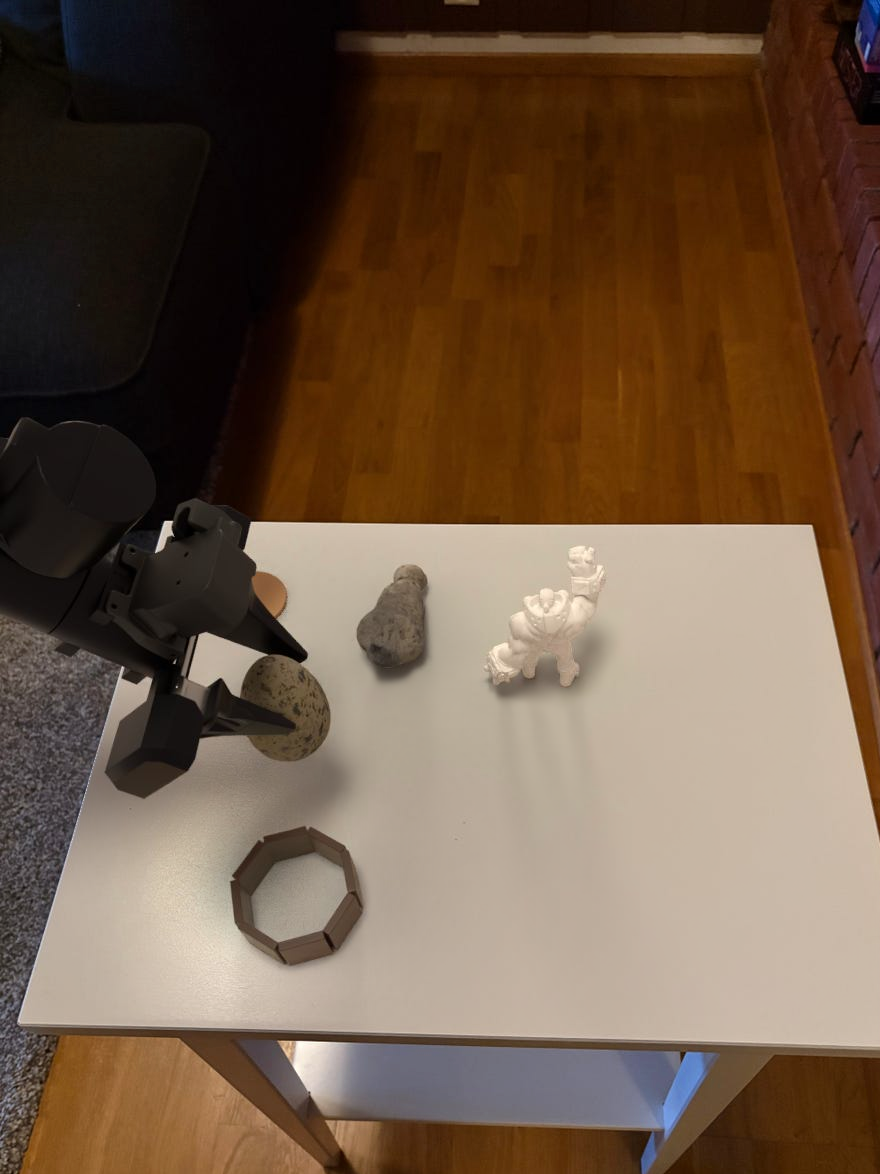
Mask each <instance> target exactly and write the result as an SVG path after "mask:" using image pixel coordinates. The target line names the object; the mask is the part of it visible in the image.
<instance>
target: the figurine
mask: <svg viewBox="0 0 880 1174" xmlns="http://www.w3.org/2000/svg"><path fill="white" fill-rule="evenodd" d="M596 552H597V550H596V548H594V547H592V546H590V547H589V548H588V549H587V548H586V546H585V545H577V546H574V547H570V549H569V550H568V552H567V558H568V561H567V562H566V568H567V569H568V570H569V572H570V573H571V574H572V575H571V577H570V578H571V580H570V581H571V582H570V583H571V585H570V586H571V589H572V595H573V599H572V601H571V600H569V599H570V593H569V592H568V591H567V590H565V589H560V590H558V591H553V589H551V588H549V587H545V588H542V589H541V590H540V591H539V593H537V594H535V595H533V596H532V595H526V596H525V597H524V598H523V599H522V601H521V604H522V606H523V611H519V612H516V613H514V614H512V615H511V616H510V618H509V620H508V626H509V629H510V632H509V634H508V637H507V642H502V643H501V644H500V643H499V644H498V645H495V646H493V647H492V648H491V650H489V651H488V652H487V653H486V658H485V661H486V662H485V663H486V664H485V665H484V666H483V671H485V672H487V673H489V675H490V676H491V677H492V684H493V685H495V686H499V685H500V683H501V682H505V683H507V684H508V683H510V682H511V680H510V679H511V678H513V677H517V675H518V674H519V673H520V671H521V672H522V675H523V677H524V678H526V679H533V678H534V677H535V675H536V667H537V665H538V664H539V663H538V662H539V656H540V654H541V653H542V652H544V653H547V654H548V653H552V654H554V655H555V658H556V664H557V672H558V673H559V674H560V675H559V684H560V685H561V687H565V688H566V687H569V686H571V685H572V683H573V681H574V679H575V677H576V678H578V677H579V675H580V665H579V663H577V661H576V662H575V661H574V653H573V650H572V644H571V642H570V639H572V638H573V637H576V636H577V635H581V633H583V632H584V631H585V630H586V626H587V623H588V622H589V621H591V620H592V619H593V618H594V617H595V614H596V611H597V606H598V601H599V597H600V592H601V591H602V590H603V589H604V586H605V584H606V580H607V573H606V570H605V569H604V565H602V564H597V563H598V562H597V560H596V556H595V554H596Z"/></svg>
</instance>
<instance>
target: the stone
mask: <svg viewBox="0 0 880 1174" xmlns="http://www.w3.org/2000/svg"><path fill="white" fill-rule="evenodd" d="M392 578H393V581H392V582H391V583H390V584H388V585H387V586H386V587H384V589H383V590H382V592H381V594H380V595H379V597H378V598H377V601H376V604H375V606H374V608H373V609H371V610H370V611H369V612H367V613H366V615H364V616H363V617H362V618H361V619H360V620H359V622H358V624H357V628H356V640H357V643H358V645H359V647H360V648H361V649H362V650H363V651H364V652H365V653H366V655H367V656H368V657H369V659H370V661H371V662H372V664H374V665H375V666H376V667H379V668H384V669H386V668H387V669H388V668H390V669H391V668H394V667H398V666H400V665H402V664H403V665H404V664H407V663H411V662H412V661H414V660H416V659H417V658H418V657H419V655H420V654H422V651H423V647H424V644H425V643H424V642H425V640H424V639H425V632H424V626H423V623H424V617H425V604H424V603H425V602H424V596H423V593H422V592H423V591H424V590H425V589H426V588H427V585H428V577H427V574H426V573H425V572H424V570H423V569H422V568H421V567H420V566H418V565H417V564H413V563H409V564H407V563H406V564H401V565H400V566H399V567H397V568H396V569H395V571H394V572H393V576H392Z"/></svg>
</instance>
